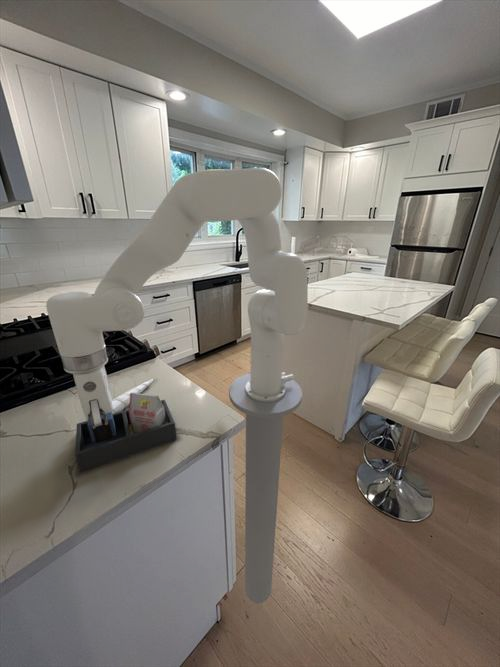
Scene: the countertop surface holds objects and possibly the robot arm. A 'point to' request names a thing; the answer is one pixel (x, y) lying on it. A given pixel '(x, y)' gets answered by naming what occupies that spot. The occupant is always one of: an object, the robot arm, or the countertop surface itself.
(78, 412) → the countertop surface
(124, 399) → the unicorn horn
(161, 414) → the white printed box
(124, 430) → the sorter
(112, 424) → the block
